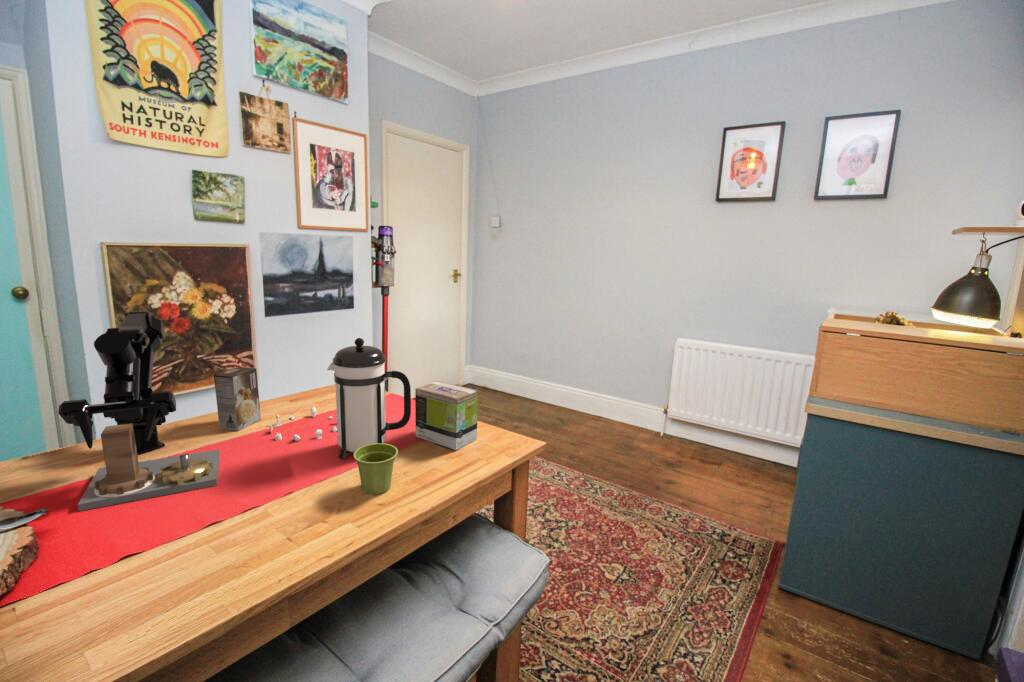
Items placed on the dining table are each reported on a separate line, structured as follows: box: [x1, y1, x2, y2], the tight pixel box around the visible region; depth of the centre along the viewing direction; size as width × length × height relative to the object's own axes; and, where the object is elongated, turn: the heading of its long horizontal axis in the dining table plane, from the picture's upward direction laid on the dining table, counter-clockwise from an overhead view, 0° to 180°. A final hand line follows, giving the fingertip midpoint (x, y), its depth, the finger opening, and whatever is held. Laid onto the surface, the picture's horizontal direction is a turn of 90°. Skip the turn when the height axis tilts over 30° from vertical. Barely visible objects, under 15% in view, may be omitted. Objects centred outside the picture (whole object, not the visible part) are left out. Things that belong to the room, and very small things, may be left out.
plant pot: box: [353, 442, 399, 495], centre depth 103 cm, size 9×9×9 cm
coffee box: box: [213, 366, 262, 432], centre depth 133 cm, size 9×6×16 cm
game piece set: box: [269, 406, 337, 442], centre depth 134 cm, size 19×20×4 cm
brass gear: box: [157, 453, 213, 486], centre depth 103 cm, size 10×10×4 cm
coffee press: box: [326, 337, 412, 460], centre depth 120 cm, size 17×16×30 cm
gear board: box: [77, 449, 221, 512], centre depth 104 cm, size 16×23×2 cm
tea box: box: [414, 380, 479, 451], centre depth 130 cm, size 15×10×15 cm
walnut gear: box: [95, 423, 153, 495], centre depth 97 cm, size 9×9×12 cm
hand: (119, 443), depth 96 cm, fingers open, 9 cm apart
